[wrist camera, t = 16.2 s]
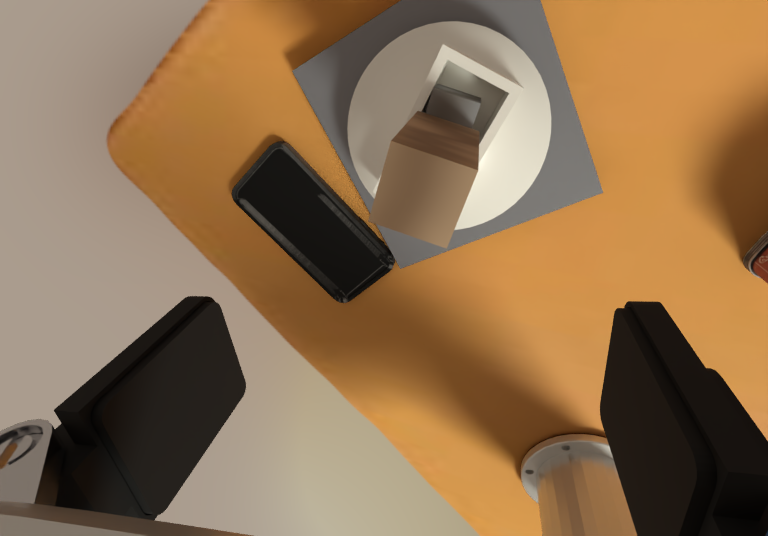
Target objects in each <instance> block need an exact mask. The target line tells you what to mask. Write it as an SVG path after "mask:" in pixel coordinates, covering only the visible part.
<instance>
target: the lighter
mask: <svg viewBox="0 0 768 536" xmlns="http://www.w3.org/2000/svg"><path fill="white" fill-rule="evenodd" d="M743 263H744V266H745V268H747V269H748V270H749V271H750V272H751V273H752V274H753V275H754V276H756V277H759V278H762V279H763V280H764V281H765V282H766V283H768V231H767V232H766V233H765V234H764V235H763V236H762V237H761V238H760V239H759V240H758V241H757V242H756V243H755V244H754V245H753V246H752V248H751V249H750V250H749V251H748V252H747V253H746V255H745V256H744V259H743Z"/></svg>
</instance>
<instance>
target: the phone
mask: <svg viewBox="0 0 768 536" xmlns="http://www.w3.org/2000/svg"><path fill="white" fill-rule="evenodd" d="M232 198H233V200H234V202H235V203H236V204H237V205H238V206H239V207H240V208H241V209H242V210H243V211H244V212H245V213H246V214H247V215H248V216H249V217H250V218H251V219H252V220H253V221H254V222H255V223H256V224H257V225H258V226H259V227H261V228H262V229H263V230H264V231H265V232H266V233H267V234H268V235H269V236H270V237H271V238H272V239H273V240H274V241H275V242H276V243H277V244H278V245H279V246H280V247H281V248H282V249H283V250H284V251H285V252H286V253H287V254H288V255H289V256H290V257H291V258H292V259H293V260H294V261H295V262H297V263H298V264H299V265H300V266H301V267H302V268H303V269H304V270H305V271H306V272H307V273H308V274H309V275H310V276H311V277H312V278H313V279H314V280H315V281H316V282H317V283H318V284H319V285H320V286H321V287H322V288H323V289H324V290H325V291H326V292H327V293H328V294H329V295H330V296H332V297H333V298H334V299H335V300H336V301H338V302H341V303H346V302H349V301H351V300H352V299H353V298H355V297H356V296H357V295H359V294H360V293H361V292H363V291H364V290H365V289H367V288H368V287H369V286H371V285H372V284H373V283H375V282H376V281H377V280H379V279H380V278H381V277H383V276H384V275H385V274H387V273H388V272H389V271H390V270H391V269H392V268H393V265H394V263H395V258H394V256H393V254H392V252H391V251H390V249H389V248H388V247H387V246H386V245H385V244H384V243H383V242H382V241H381V240H380V239H379V238H378V237H377V235H376V234H375V233H374V232H373V231H372V230H371V229H370V228H369V227H368V226H367V225H366V224H365V222H364V221H363V220H361V219H360V218H359V217H358V216H357V215H356V214H355V213H354V211H353V210H352V209H351V208H350V207H349V206H348V205H347V204H346V203H345V202H344V201H343V200H342V199H341V198H340V197H339V196H338V195H337V194H336V192H335V191H334V190H333V189H332V188H331V187H330V186H329V185H328V184H327V183H326V182H325V181H324V180H323V179H322V178H321V177H320V176H319V175H318V174H317V172H316V171H315V170H314V169H313V168H312V167H311V166H310V165H309V164H308V163H307V162H306V161H305V160H304V159H303V158H302V157H301V156H300V155H299V153H298V152H297V151H296V150H295V149H294V148H293V147H292V146H291V145H290V144H288V143H286V142H284V141H279V142H276V143H274V144H272V145H271V146H269V148H268V149H267V150H266V151H265V152H264V153H263V154H262V156H261V157H260V158H259V159H258V160H257V161H256V162H255V164H254V165H253V166H252V167H251V168H250V169H249V170H248V172H247V173H246V174H245V175H244V176H243V177H242V179H241V180H240V181H239V182H238V183H237V184H236V185H235V187H234V188H233V190H232Z"/></svg>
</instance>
